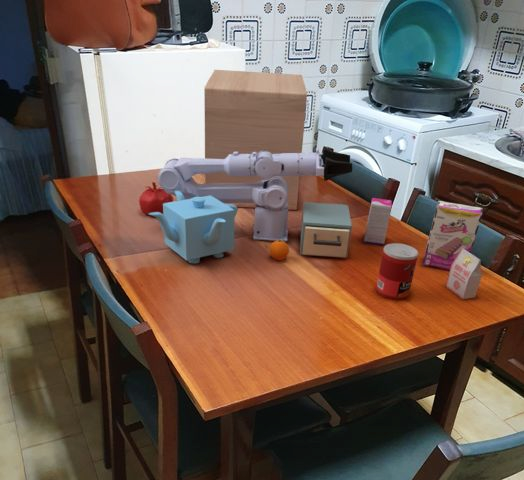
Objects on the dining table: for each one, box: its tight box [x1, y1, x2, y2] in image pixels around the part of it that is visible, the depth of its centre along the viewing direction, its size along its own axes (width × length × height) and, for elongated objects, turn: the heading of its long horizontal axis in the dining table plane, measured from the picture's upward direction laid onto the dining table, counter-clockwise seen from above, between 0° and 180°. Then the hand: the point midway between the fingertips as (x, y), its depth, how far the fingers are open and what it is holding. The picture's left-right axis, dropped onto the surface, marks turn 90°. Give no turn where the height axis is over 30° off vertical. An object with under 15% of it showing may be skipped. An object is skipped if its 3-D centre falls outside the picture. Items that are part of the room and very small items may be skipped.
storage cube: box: [203, 69, 308, 211], centre depth 178 cm, size 34×29×34 cm
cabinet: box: [299, 201, 353, 259], centre depth 150 cm, size 16×13×9 cm
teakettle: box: [148, 190, 239, 264], centre depth 140 cm, size 19×19×15 cm
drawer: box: [303, 225, 350, 258], centre depth 146 cm, size 20×11×7 cm, turn 176°
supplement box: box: [363, 197, 393, 246], centre depth 154 cm, size 6×6×12 cm
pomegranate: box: [138, 181, 174, 216], centre depth 163 cm, size 10×10×9 cm
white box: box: [445, 248, 483, 300], centre depth 131 cm, size 4×7×10 cm, turn 20°
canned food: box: [376, 242, 419, 300], centre depth 128 cm, size 8×8×11 cm
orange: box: [269, 240, 290, 261], centre depth 142 cm, size 5×5×5 cm
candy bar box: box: [422, 200, 484, 271], centre depth 140 cm, size 11×5×16 cm, turn 71°
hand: (351, 163), depth 143 cm, fingers open, 7 cm apart
